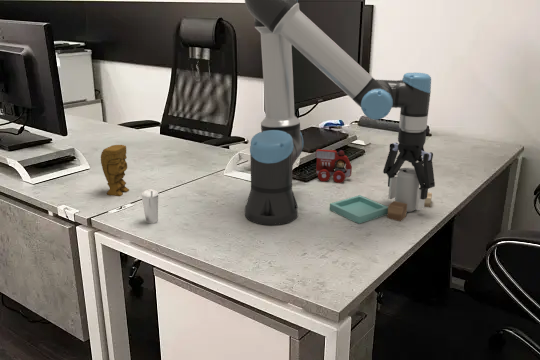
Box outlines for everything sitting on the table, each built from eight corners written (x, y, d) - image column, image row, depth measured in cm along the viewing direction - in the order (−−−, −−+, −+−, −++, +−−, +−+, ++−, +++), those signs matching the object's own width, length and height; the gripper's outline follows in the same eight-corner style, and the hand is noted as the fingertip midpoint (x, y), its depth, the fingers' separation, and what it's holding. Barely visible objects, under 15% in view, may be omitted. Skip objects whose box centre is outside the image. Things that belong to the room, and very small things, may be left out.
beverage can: (392, 204, 157) (395, 166, 153) (413, 204, 157) (417, 166, 153) (396, 212, 151) (400, 173, 147) (419, 213, 151) (423, 174, 147)
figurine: (119, 197, 163) (115, 151, 158) (101, 195, 164) (96, 149, 159) (131, 189, 169) (127, 145, 164) (114, 187, 171) (109, 143, 166)
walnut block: (400, 221, 146) (401, 208, 144) (387, 218, 148) (388, 205, 146) (405, 216, 149) (407, 203, 147) (392, 213, 151) (393, 200, 150)
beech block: (430, 207, 155) (431, 198, 154) (419, 206, 156) (420, 197, 155) (431, 201, 160) (432, 192, 159) (420, 200, 161) (421, 191, 160)
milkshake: (145, 226, 142) (143, 192, 139) (142, 219, 147) (139, 186, 143) (162, 224, 144) (160, 190, 140) (158, 216, 148) (155, 183, 145)
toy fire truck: (349, 184, 174) (351, 154, 171) (313, 181, 177) (314, 151, 174) (351, 177, 181) (353, 148, 177) (316, 174, 184) (317, 146, 180)
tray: (358, 223, 144) (359, 217, 143) (329, 209, 153) (329, 203, 153) (388, 213, 150) (389, 207, 150) (359, 201, 160) (359, 195, 159)
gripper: (454, 135, 140) (445, 212, 147) (391, 120, 157) (386, 189, 164) (436, 139, 136) (428, 218, 143) (374, 123, 153) (369, 194, 160)
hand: (405, 203), depth 154 cm, fingers open, 10 cm apart
